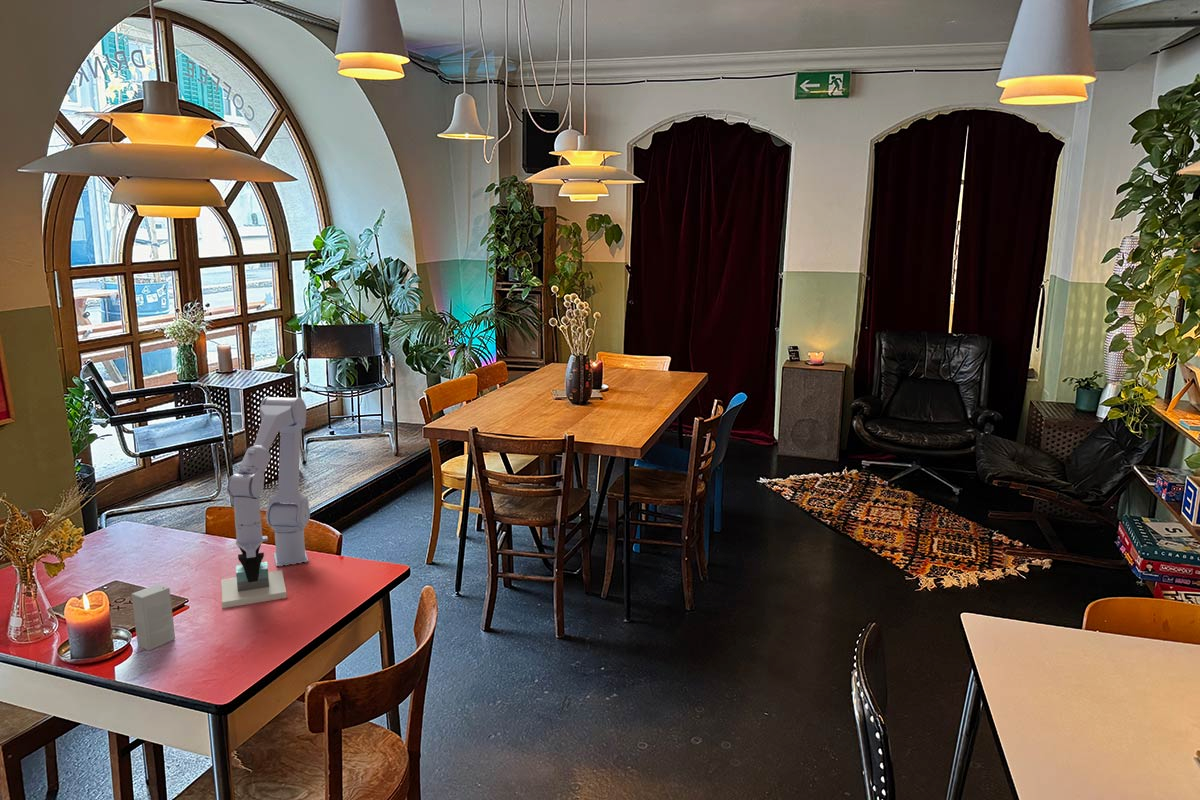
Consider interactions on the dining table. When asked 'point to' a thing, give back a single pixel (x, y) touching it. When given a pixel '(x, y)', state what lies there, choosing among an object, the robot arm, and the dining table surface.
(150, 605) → the skincare box
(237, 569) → the block
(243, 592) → the stand tile
